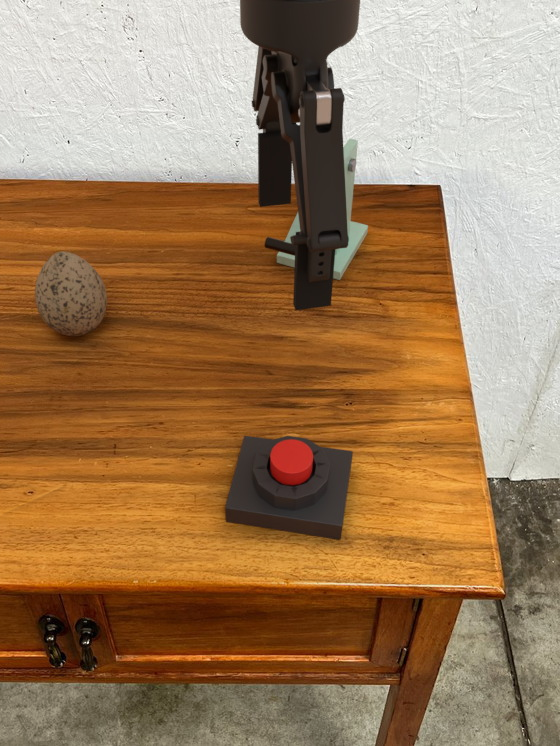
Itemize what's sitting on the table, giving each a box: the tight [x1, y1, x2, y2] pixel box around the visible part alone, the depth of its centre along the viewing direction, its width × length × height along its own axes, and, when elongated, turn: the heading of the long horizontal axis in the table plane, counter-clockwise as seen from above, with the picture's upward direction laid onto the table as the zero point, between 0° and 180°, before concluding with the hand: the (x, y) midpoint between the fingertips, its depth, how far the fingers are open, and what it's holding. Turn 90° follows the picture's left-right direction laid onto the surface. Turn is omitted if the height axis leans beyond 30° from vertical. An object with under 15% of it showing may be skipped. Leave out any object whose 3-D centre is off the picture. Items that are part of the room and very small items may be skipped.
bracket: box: [276, 138, 369, 281], centre depth 89 cm, size 10×8×14 cm
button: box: [270, 439, 313, 485], centre depth 66 cm, size 4×4×2 cm
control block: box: [224, 435, 354, 541], centre depth 68 cm, size 10×8×4 cm
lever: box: [264, 212, 300, 256], centre depth 83 cm, size 14×5×2 cm, turn 157°
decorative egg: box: [34, 250, 108, 337], centre depth 80 cm, size 7×7×10 cm
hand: (291, 250), depth 62 cm, fingers open, 13 cm apart
